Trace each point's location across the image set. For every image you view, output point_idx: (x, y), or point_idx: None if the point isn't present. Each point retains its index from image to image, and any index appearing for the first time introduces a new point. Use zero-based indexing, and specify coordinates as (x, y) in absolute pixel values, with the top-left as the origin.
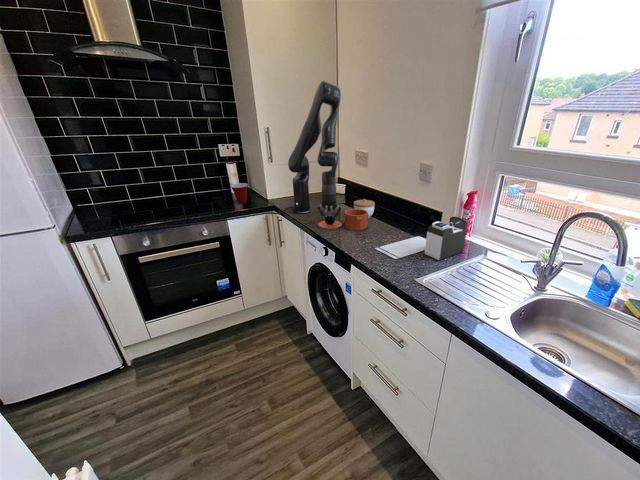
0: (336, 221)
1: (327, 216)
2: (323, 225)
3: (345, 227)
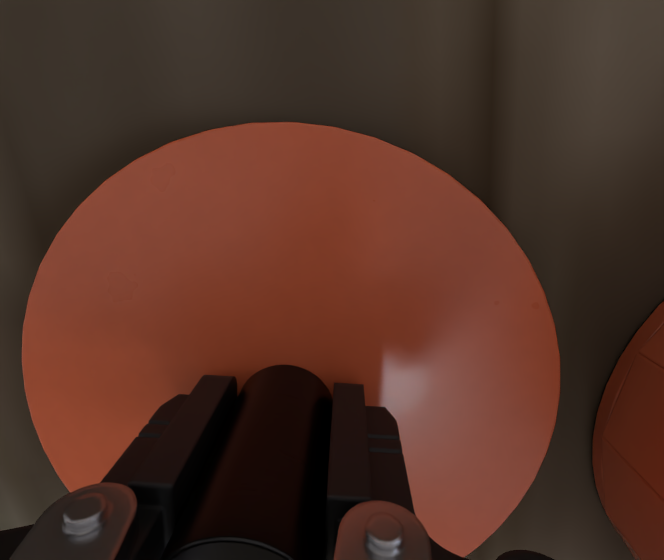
0: (426, 222)
1: (157, 542)
2: None
3: (606, 512)
